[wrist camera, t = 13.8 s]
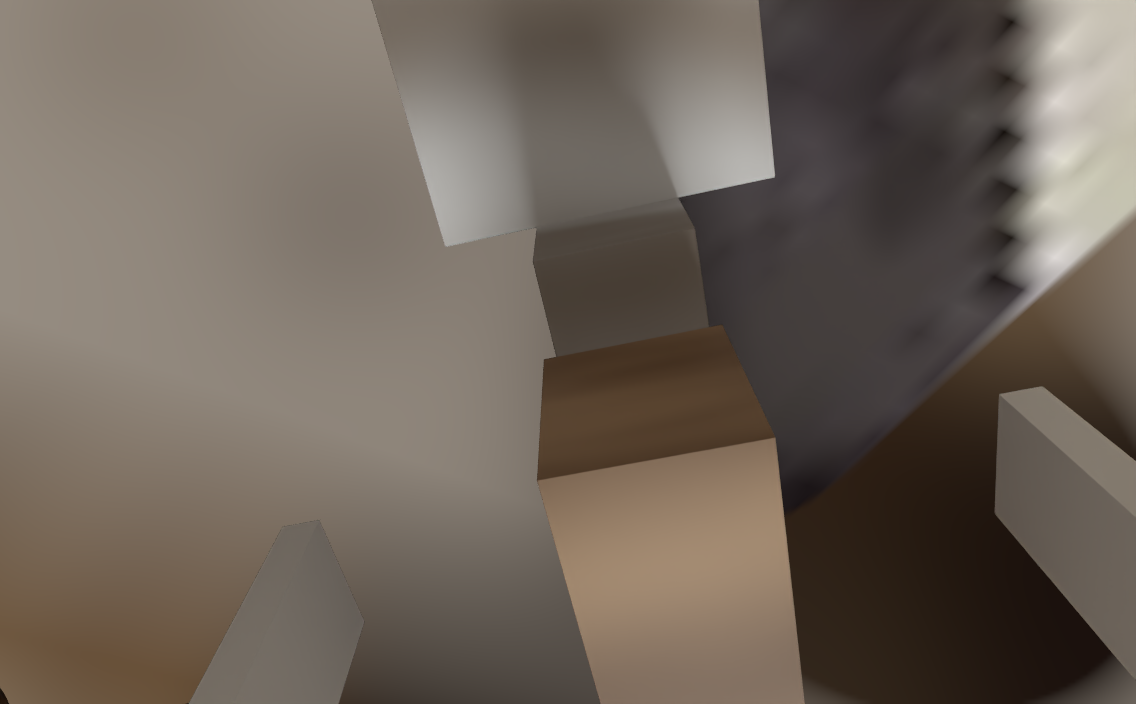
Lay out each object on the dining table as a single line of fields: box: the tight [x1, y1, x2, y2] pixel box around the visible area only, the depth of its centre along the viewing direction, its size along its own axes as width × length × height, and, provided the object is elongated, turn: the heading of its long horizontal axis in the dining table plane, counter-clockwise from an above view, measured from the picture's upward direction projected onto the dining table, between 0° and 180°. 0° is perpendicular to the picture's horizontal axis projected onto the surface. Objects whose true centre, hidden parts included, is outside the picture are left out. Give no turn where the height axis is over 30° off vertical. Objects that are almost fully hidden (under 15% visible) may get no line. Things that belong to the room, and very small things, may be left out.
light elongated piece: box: [372, 0, 805, 704], centre depth 14 cm, size 19×7×7 cm, turn 12°
